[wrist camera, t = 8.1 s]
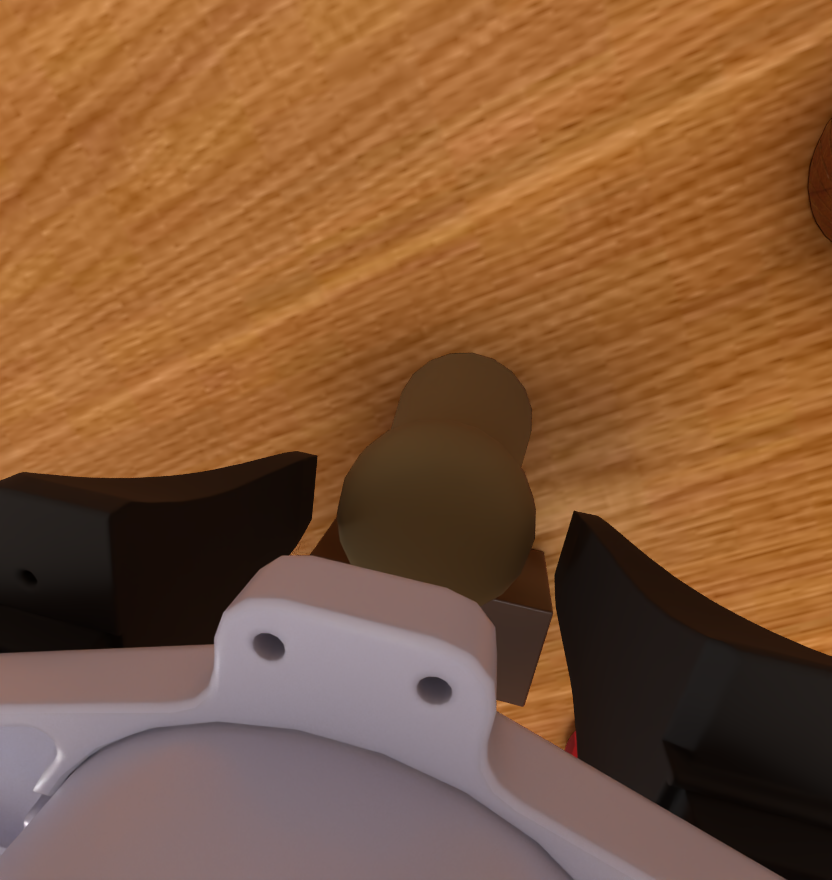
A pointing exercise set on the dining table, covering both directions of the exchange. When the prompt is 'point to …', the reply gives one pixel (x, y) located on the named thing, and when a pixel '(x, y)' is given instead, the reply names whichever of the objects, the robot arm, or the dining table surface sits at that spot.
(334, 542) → the walnut block
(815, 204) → the disposable coffee cup
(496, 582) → the olive rounded upright piece
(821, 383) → the dining table surface
